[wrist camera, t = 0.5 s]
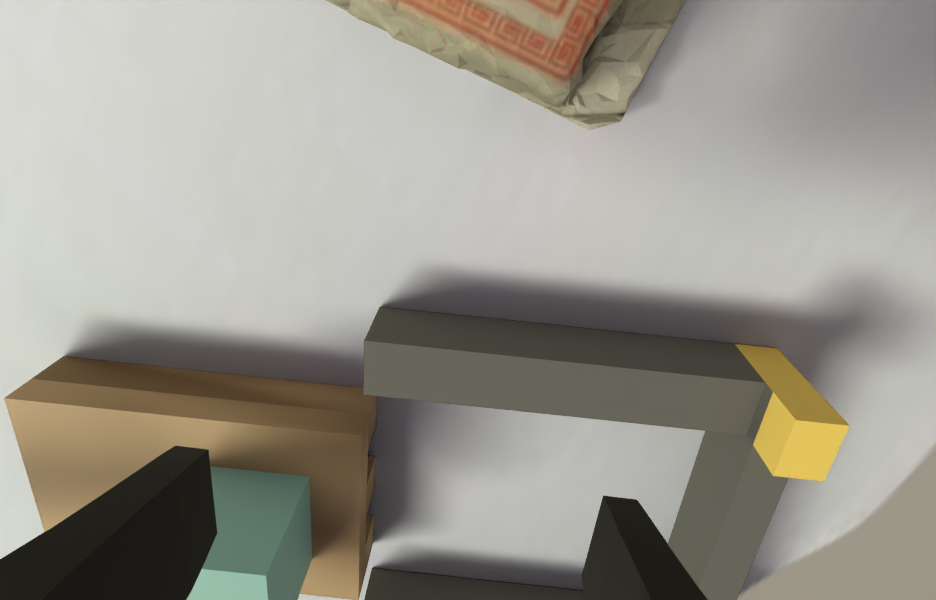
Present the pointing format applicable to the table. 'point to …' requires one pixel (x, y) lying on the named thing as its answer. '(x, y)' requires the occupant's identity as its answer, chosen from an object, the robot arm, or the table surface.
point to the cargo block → (257, 537)
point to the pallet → (204, 444)
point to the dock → (625, 400)
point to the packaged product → (537, 45)
